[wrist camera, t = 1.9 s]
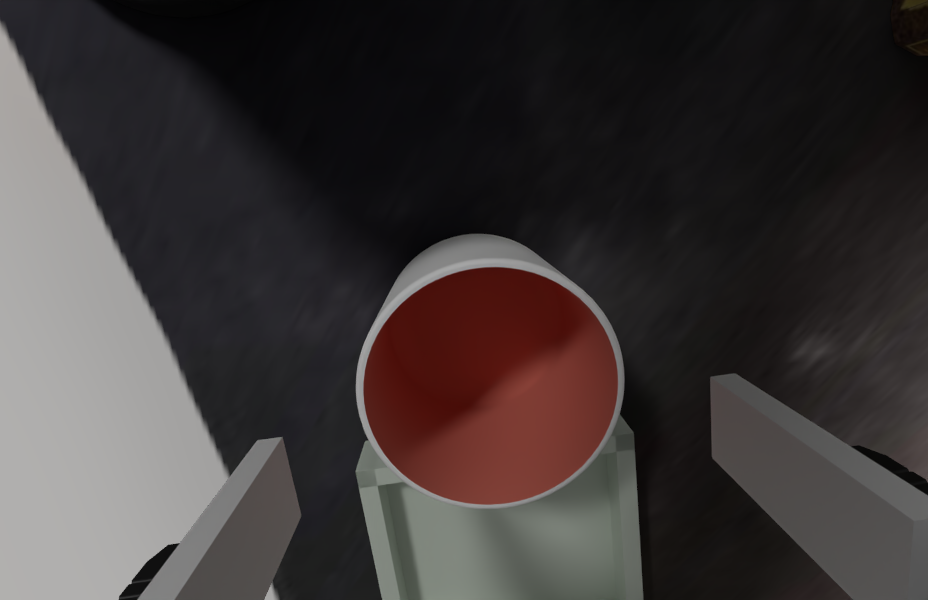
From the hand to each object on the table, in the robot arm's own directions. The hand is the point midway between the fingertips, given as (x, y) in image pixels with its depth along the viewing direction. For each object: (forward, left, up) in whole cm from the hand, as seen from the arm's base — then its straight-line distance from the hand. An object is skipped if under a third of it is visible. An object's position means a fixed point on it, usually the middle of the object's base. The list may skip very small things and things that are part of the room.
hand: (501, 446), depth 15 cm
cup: (0, 0, -14) cm, 14 cm away
